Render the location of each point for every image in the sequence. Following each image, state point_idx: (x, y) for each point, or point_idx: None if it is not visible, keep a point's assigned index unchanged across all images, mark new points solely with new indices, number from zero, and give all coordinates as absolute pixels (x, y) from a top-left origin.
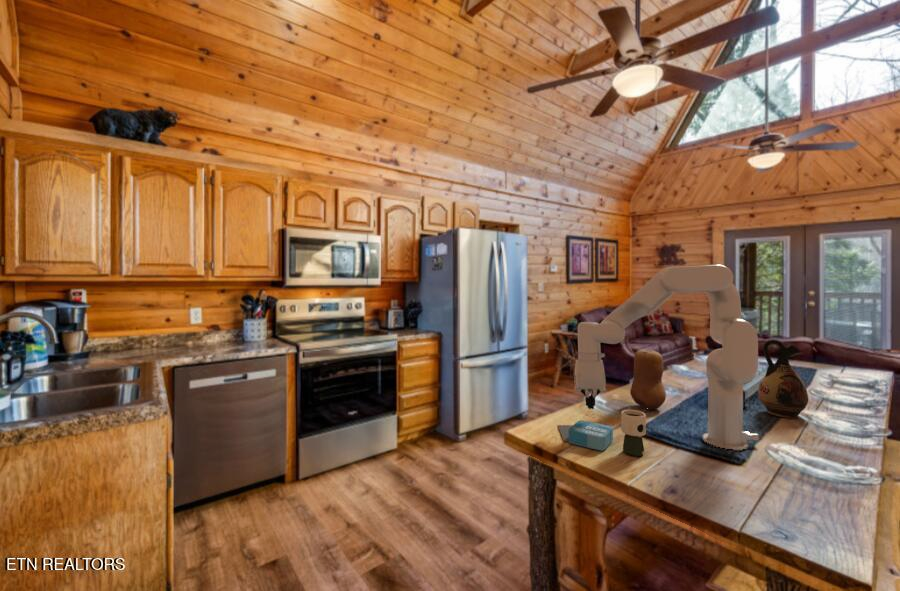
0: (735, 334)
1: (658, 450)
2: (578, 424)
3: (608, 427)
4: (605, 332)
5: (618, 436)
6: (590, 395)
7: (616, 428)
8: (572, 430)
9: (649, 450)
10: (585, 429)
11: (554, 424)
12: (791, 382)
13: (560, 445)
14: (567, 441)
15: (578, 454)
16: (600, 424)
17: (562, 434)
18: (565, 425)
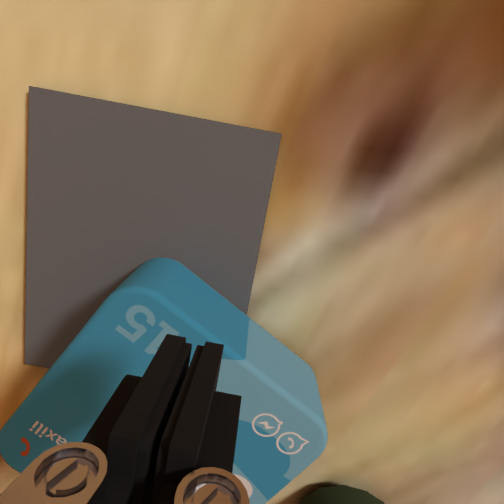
0: None
1: (485, 500)
2: (87, 374)
3: (292, 449)
4: None
5: (388, 320)
6: (176, 448)
7: (461, 184)
8: (16, 467)
9: (440, 496)
10: None
11: (14, 46)
12: None
13: (2, 398)
14: (47, 366)
15: None
16: (259, 394)
17: (33, 274)
18: (88, 106)
